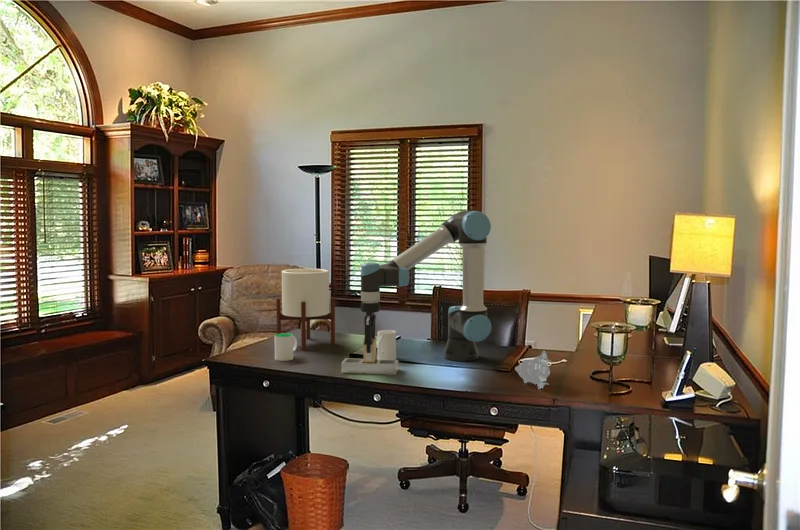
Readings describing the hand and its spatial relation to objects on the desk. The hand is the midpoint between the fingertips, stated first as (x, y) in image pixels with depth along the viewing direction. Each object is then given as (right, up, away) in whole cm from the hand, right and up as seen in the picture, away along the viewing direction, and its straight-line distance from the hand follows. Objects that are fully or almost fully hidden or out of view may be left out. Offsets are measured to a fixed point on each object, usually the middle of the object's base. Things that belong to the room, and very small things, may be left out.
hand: (369, 358), depth 254 cm
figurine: (+61, -7, -20) cm, 65 cm away
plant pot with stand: (-33, -1, +51) cm, 60 cm away
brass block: (0, -2, 0) cm, 2 cm away
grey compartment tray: (0, -5, 0) cm, 5 cm away
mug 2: (+5, -4, +21) cm, 22 cm away
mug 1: (-38, -3, +23) cm, 44 cm away
